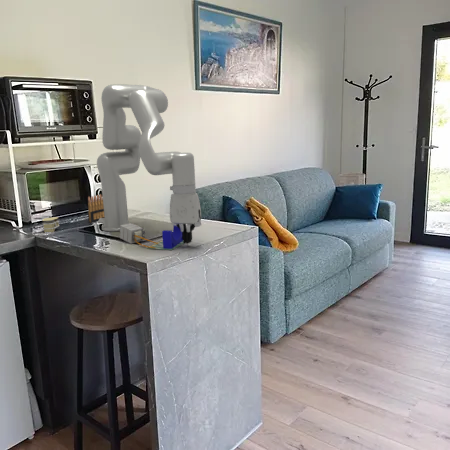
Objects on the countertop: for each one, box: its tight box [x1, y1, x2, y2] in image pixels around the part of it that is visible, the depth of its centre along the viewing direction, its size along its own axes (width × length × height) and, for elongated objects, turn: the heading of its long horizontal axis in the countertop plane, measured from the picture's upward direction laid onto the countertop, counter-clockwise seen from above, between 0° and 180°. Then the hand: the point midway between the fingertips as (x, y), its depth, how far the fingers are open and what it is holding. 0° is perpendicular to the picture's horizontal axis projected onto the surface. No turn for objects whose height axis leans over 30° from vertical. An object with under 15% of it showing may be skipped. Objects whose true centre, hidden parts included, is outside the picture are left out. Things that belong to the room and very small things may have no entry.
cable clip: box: [161, 225, 183, 249], centre depth 160 cm, size 12×4×6 cm, turn 165°
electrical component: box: [119, 222, 164, 250], centre depth 163 cm, size 24×6×5 cm, turn 48°
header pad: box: [146, 239, 185, 251], centre depth 161 cm, size 10×12×1 cm
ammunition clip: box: [87, 193, 105, 224], centre depth 209 cm, size 11×2×12 cm, turn 150°
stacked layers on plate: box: [41, 216, 60, 233], centre depth 191 cm, size 10×9×6 cm
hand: (187, 242), depth 158 cm, fingers closed
